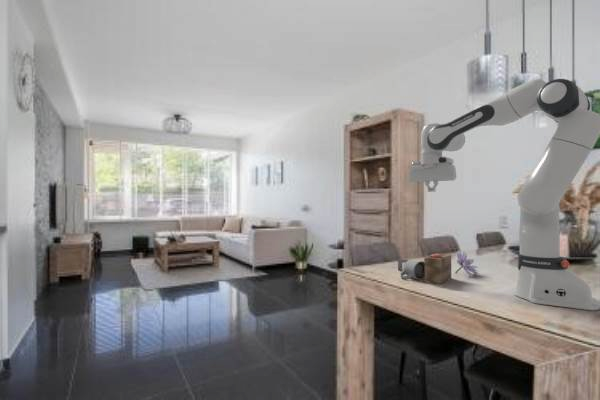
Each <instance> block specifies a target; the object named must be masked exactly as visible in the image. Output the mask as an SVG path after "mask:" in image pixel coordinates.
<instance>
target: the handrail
mask: <svg viewBox="0 0 600 400" xmlns="http://www.w3.org/2000/svg"><path fill="white" fill-rule="evenodd" d="M409 260H410V259H404V258H403V259H402V258H398V259H397V270H398V271H401V272H403V263H404V264H405V262H407V261H409Z"/></svg>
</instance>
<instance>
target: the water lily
mask: <svg viewBox="0 0 600 400" xmlns="http://www.w3.org/2000/svg"><path fill="white" fill-rule="evenodd" d="M456 257H457V260H456V263H457V264H458V265H459V268H458V269H457V270H456V271H455V272H454V273H455V274H457V273H458V272H459V271H461V269H462V268H463V270H464V272H465V273H466V274H467V275H468V276H469V277H470V278H471V279H473V274H476V275H480V273H479V272H478V270H477V269H479V267H478V266H477V265H472V264H473V263H474V261H475V260H474V259H473V258H472V259H471V258H468V257H467V253H466V252H465V251H463V252H461V251H460V249H458V251H456ZM472 273H473V274H472Z"/></svg>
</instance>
